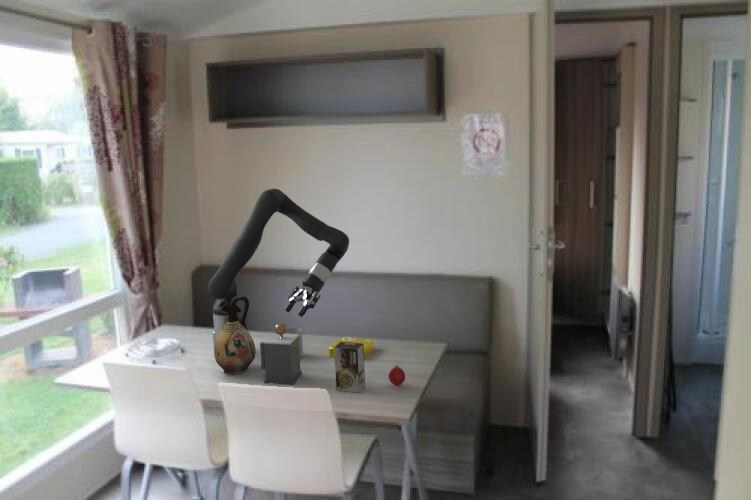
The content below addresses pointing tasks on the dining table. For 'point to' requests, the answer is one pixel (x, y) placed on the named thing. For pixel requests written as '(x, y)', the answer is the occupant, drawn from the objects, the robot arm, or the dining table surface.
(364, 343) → the element tile
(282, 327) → the plunger
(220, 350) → the ceramic jug
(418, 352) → the dining table surface
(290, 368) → the gray rectangular box
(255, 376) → the dining table surface
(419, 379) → the dining table surface
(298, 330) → the mug
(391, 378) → the onion
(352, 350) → the coffee box
